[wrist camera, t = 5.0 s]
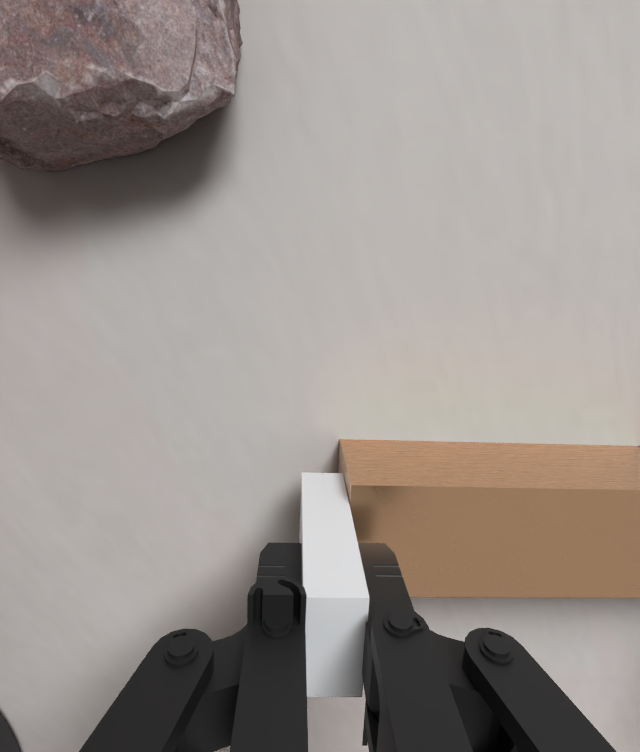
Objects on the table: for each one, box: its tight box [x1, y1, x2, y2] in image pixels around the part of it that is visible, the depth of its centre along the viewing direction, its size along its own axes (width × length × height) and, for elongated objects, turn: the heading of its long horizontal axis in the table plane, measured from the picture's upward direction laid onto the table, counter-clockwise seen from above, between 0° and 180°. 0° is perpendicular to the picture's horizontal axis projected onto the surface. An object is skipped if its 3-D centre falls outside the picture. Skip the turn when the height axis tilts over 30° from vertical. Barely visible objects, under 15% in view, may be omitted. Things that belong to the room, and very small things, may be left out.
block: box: [338, 439, 640, 598], centre depth 17 cm, size 16×4×4 cm, turn 87°
